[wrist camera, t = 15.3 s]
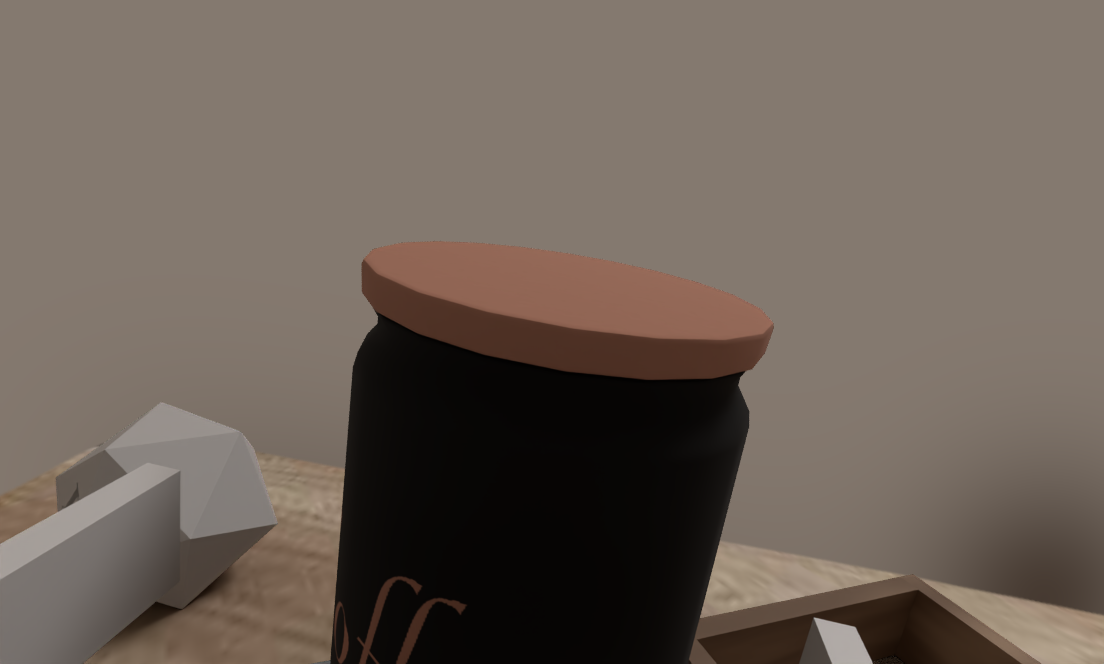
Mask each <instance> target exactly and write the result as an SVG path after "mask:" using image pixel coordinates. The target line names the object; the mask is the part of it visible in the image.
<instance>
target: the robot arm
mask: <svg viewBox="0 0 1104 664" xmlns="http://www.w3.org/2000/svg"><path fill="white" fill-rule="evenodd" d="M180 474H181V470H177V469H173V468H168V467H164V466H160V465H155V464H151V463H146V464H144V465H143V466H141V467H139V468H137V469H135V470H134V471H132V472H130V473H128V474H126V475H124V476H123V477H121V478H119V479H117V480H115V481H114V482H112V483H110V484H108V485H106V486H105V487H103V488H101V489H99V490H97V491H95V492H94V493H92V494H90V495H88V496H86V497H85V498H83V499H81V500H79V501H77V502H75V503H74V504H72V505H70V506H68V507H66V508H65V509H63V510H61V511H59V512H57V513H56V514H54V515H52V516H50V517H48V518H46V519H45V520H43V521H41V522H39V523H37V524H36V525H34V526H32V527H30V528H28V529H26V530H25V531H23V532H21V533H19V534H17V535H16V536H14V537H12V538H10V539H8V540H7V541H5V542H3V543H1V544H0V664H83V663H84V662H85V661H86V660H87V659H89V658H90V657H91V656H92V655H93V654H95V653H96V652H97V651H98V650H99V649H100V648H102V647H103V646H104V645H105V644H106V643H108V642H109V641H110V640H111V639H112V638H113V637H115V636H116V635H117V634H118V633H119V632H121V631H122V630H123V629H124V628H125V627H127V626H128V625H129V624H130V623H131V622H132V621H134V620H135V619H136V618H137V617H138V616H140V615H141V614H142V613H143V612H144V611H145V610H147V609H148V608H149V607H150V606H151V605H153V604H154V603H155V602H156V601H157V600H158V599H160V598H161V597H162V596H163V595H164V594H166V593H167V592H168V591H169V590H170V589H171V588H173V587H174V586H175V585H176V584H177V583H179V582H180ZM799 664H873V663H872V661H871V659H870V656H869V654H868V652H867V650H866V648H865V646H864V644H863V642H862V640H861V638H860V636H859V634H858V632H857V629H856V627H853V626H849V625H844V624H840V623H836V622H831V621H827V620H823V619H818V618H813V621H812V624H811V628H810V631H809V634H808V637H807V640H806V643H805V647H804V650H803V653H802V656H801V659H800V662H799Z"/></svg>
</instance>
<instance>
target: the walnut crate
mask: <svg viewBox="0 0 1104 664" xmlns="http://www.w3.org/2000/svg"><path fill="white" fill-rule="evenodd" d="M813 618H818V619H823V620H827V621H831V622H836V623H840V624H844V625H849V626H853V627H856V629H857V632H858V634H859V636H860V638H861V640H862V642H863V644H864V646H865V648H866V650H867V652H868V654H869V656H870V659H871V661H874V660H878V659H881V658H885V657H888V656H891V655H896V656H897V657H898V658H899V659H901V660H902V661H903V662H904V663H905V664H1041V663H1040V662H1038V661H1037V660H1035V659H1034V658H1032V657H1031V656H1030V655H1028V654H1027V653H1025V652H1024V651H1022V650H1021V649H1019V648H1018V647H1017V646H1015V645H1014V644H1012V643H1011V642H1009V641H1008V640H1007V639H1005V638H1004V637H1002V636H1001V635H999V634H998V633H996V632H995V631H994V630H992V629H991V628H989V627H988V626H986V625H985V624H984V623H982V622H981V621H979V620H978V619H976V618H975V617H974V616H972V615H971V614H969V613H968V612H966V611H965V610H963V609H962V608H961V607H959V606H958V605H956V604H955V603H953V602H952V601H951V600H949V599H948V598H946V597H945V596H943V595H942V594H940V593H939V592H938V591H936V590H935V589H933V588H932V587H930V586H929V585H928V584H926V583H925V582H923V581H922V580H920V579H919V578H918V577H916V576H915V575H913V574H912V575H907V576H902V577H897V578H892V579H888V580H883V581H878V582H873V583H868V584H863V585H859V586H854V587H849V588H844V589H839V590H835V591H830V592H825V593H820V594H815V595H811V596H806V597H801V598H796V599H791V600H787V601H782V602H777V603H772V604H767V605H762V606H758V607H753V608H748V609H743V610H738V611H734V612H729V613H724V614H719V615H714V616H710V617H705V618H700V619H699V623H698V627H697V630H696V634H695V638H694V642H693V646H692V650H691V654H690V658H689V661H688V664H799V662H800V659H801V656H802V653H803V650H804V647H805V643H806V640H807V637H808V634H809V631H810V628H811V624H812V621H813Z"/></svg>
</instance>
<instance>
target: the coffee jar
mask: <svg viewBox="0 0 1104 664" xmlns="http://www.w3.org/2000/svg"><path fill="white" fill-rule="evenodd" d="M362 292H363V294H364V296H365V297H366V298H367V300H368V301H369V302H370V304H371V305H372V307H373V308H374V310H375V312H376V314H377V315H378V324H377V325H376V326H375V327H374V328H373V329H372V330H371V331H370V332H369V333H368V334H367V336H366V338H365V339H364V341H363V343H362V345H361V347H360V349H359V351H358V353H357V357H356V359H355V362H354V365H353V373H352V386H351V401H350V412H349V425H348V440H347V452H346V466H345V478H344V491H343V504H342V517H341V530H340V543H339V556H338V569H337V582H336V595H335V608H334V621H333V634H332V647H331V660H330V664H688V661H689V658H690V654H691V650H692V646H693V642H694V638H695V634H696V630H697V627H698V623H699V619H700V615H701V611H702V607H703V603H704V599H705V596H706V592H707V588H708V584H709V580H710V576H711V572H712V568H713V565H714V561H715V557H716V553H717V549H718V545H719V541H720V537H721V534H722V530H723V526H724V522H725V518H726V514H727V510H728V506H729V502H730V499H731V495H732V491H733V487H734V483H735V479H736V475H737V471H738V468H739V464H740V460H741V456H742V452H743V448H744V444H745V440H746V437H747V433H748V429H749V410H748V407H747V405H746V403H745V400H744V398H743V396H742V393H741V391H740V389H739V386H738V384H739V380H740V377H741V376H742V375H743V374H744V373H745V371H747V370H750V369H752V368H753V367H754V366H755V365H756V364H757V362H758V361H759V360H760V358H761V357H762V356H763V355H764V354H765V351H766V348H767V346H768V343H769V340H770V337H771V334H772V332H773V328H774V326H773V322H772V321H771V320H770V319H769V318H768V316H767V315H766V314H765V313H764V312H763V311H762V310H761V309H760V308H758V307H756V306H754V305H752V304H750V303H748V302H746V301H744V300H742V299H740V298H738V297H736V296H734V295H732V294H729V293H726V292H724V291H721V290H718V289H715V288H712V287H709V286H706V285H703V284H701V283H698V282H694V281H690V280H687V279H683V278H680V277H676V276H672V275H669V274H665V273H661V272H658V271H654V270H649V269H644V268H640V267H635V266H630V265H626V264H622V263H617V262H612V261H607V260H601V259H596V258H590V257H584V256H579V255H573V254H568V253H561V252H554V251H546V250H539V249H532V248H525V247H515V246H505V245H494V244H484V243H467V242H442V241H433V242H407V243H399V244H394V245H390V246H384V247H380V248H376V249H373V250H372V251H371V252H370V253H369V254H368V255H367V256H366V257H365V258H364V260H363V262H362Z"/></svg>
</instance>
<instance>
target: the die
mask: <svg viewBox="0 0 1104 664" xmlns="http://www.w3.org/2000/svg"><path fill="white" fill-rule="evenodd" d="M146 463H151V464H155V465H160V466H164V467H168V468H173V469H177V470H181V474H180V582H179V583H177V584H176V585H175V586H174V587H173V588H171V589H170V590H169V591H168V592H167V593H166V594H164V595H163V596H162V597H161V598H160V599H158V600H157V601H156V602H159V603H162V604H166V605H169V606H172V607H176V608H179V609H183V608H184V607H185V606H186V605H187V604H188V603H190V602H191V601H192V600H193V599H194V598H195V597H196V596H197V595H199V594H200V593H201V592H202V591H203V590H204V589H205V588H206V587H207V586H209V585H210V584H211V583H212V582H213V581H214V580H215V579H216V578H218V577H219V576H220V575H221V574H222V573H223V572H224V571H225V570H226V569H228V568H229V567H230V566H231V565H232V564H233V563H234V562H235V561H236V560H238V559H239V558H240V557H241V556H242V555H243V554H244V553H245V552H247V551H248V550H249V549H250V548H251V547H252V546H253V545H254V544H255V543H257V542H258V541H259V540H260V539H261V538H262V537H263V536H264V535H266V534H267V533H268V532H269V531H270V530H271V529H272V528H273V527H274V526H276V525H277V524H278V523H277V520H276V517H275V513H274V510H273V507H272V504H271V501H270V498H269V495H268V492H267V489H266V486H265V482H264V479H263V476H262V473H261V470H260V467H259V464H258V461H257V458H256V455H255V451H254V448H253V447H252V445H251V444H250V443H249V442H248V440H247V439H246V438H245V436H244V435H243V434H242V433H241V432H240V431H238V430H235V429H233V428H230V427H227V426H224V425H222V424H219V423H217V422H213V421H211V420H208V419H205V418H203V417H200V416H198V415H195V414H192V413H190V412H187V411H184V410H181V409H179V408H176V407H173V406H171V405H168V404H165V403H162V402H161V403H159V404H158V405H156V406H155V407H154V408H152V409H151V410H150V411H148V412H147V413H145V414H144V415H143V416H141V417H140V418H138V419H137V420H136V421H134V422H133V423H131V424H130V425H128V426H127V427H126V428H124V429H123V430H121V431H120V432H119V433H117V434H116V435H115V436H113V437H112V438H110V439H109V440H108V441H106V442H105V443H103V444H102V445H101V446H99V447H98V448H96V449H95V450H94V451H92V452H91V453H89V454H88V455H87V456H85V457H84V458H82V459H81V460H80V461H78V462H77V463H75V464H74V465H73V466H71V467H70V468H68V469H67V470H66V471H64V472H63V473H61V474H60V475H59V476H57V477H56V490H57V508H58V512H59V511H61V510H63V509H65V508H66V507H68V506H70V505H72V504H74V503H75V502H77V501H79V500H81V499H83V498H85V497H86V496H88V495H90V494H92V493H94V492H95V491H97V490H99V489H101V488H103V487H105V486H106V485H108V484H110V483H112V482H114V481H115V480H117V479H119V478H121V477H123V476H124V475H126V474H128V473H130V472H132V471H134V470H135V469H137V468H139V467H141V466H143V465H144V464H146Z"/></svg>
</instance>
